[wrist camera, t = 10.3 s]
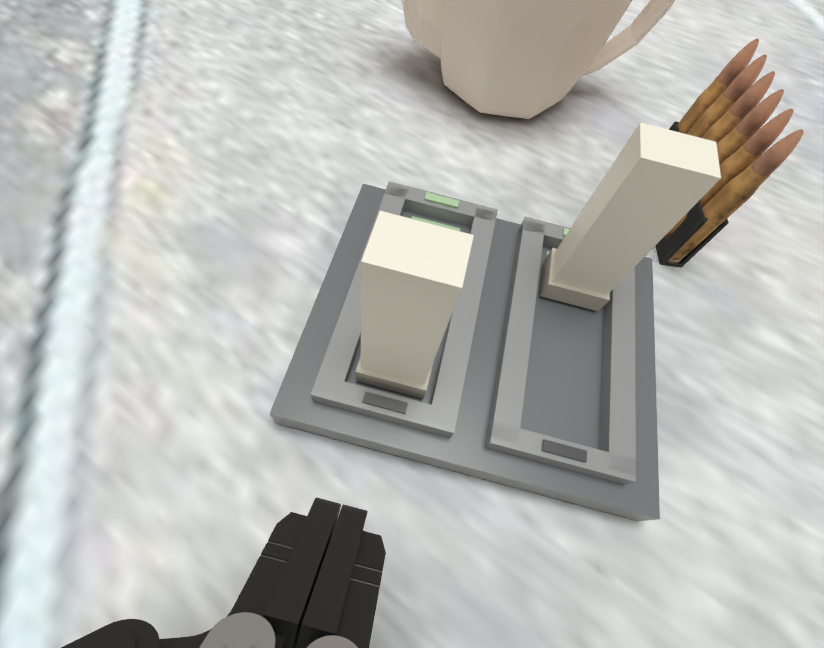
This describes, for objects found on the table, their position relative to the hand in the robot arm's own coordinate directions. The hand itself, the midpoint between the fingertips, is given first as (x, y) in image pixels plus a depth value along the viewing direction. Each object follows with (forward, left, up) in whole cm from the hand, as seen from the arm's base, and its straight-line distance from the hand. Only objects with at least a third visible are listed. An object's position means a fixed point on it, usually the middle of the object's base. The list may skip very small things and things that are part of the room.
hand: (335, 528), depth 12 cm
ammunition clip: (-18, -30, -13) cm, 37 cm away
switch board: (-5, -14, -13) cm, 20 cm away
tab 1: (0, -9, -10) cm, 14 cm away
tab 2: (-10, -18, -10) cm, 23 cm away
